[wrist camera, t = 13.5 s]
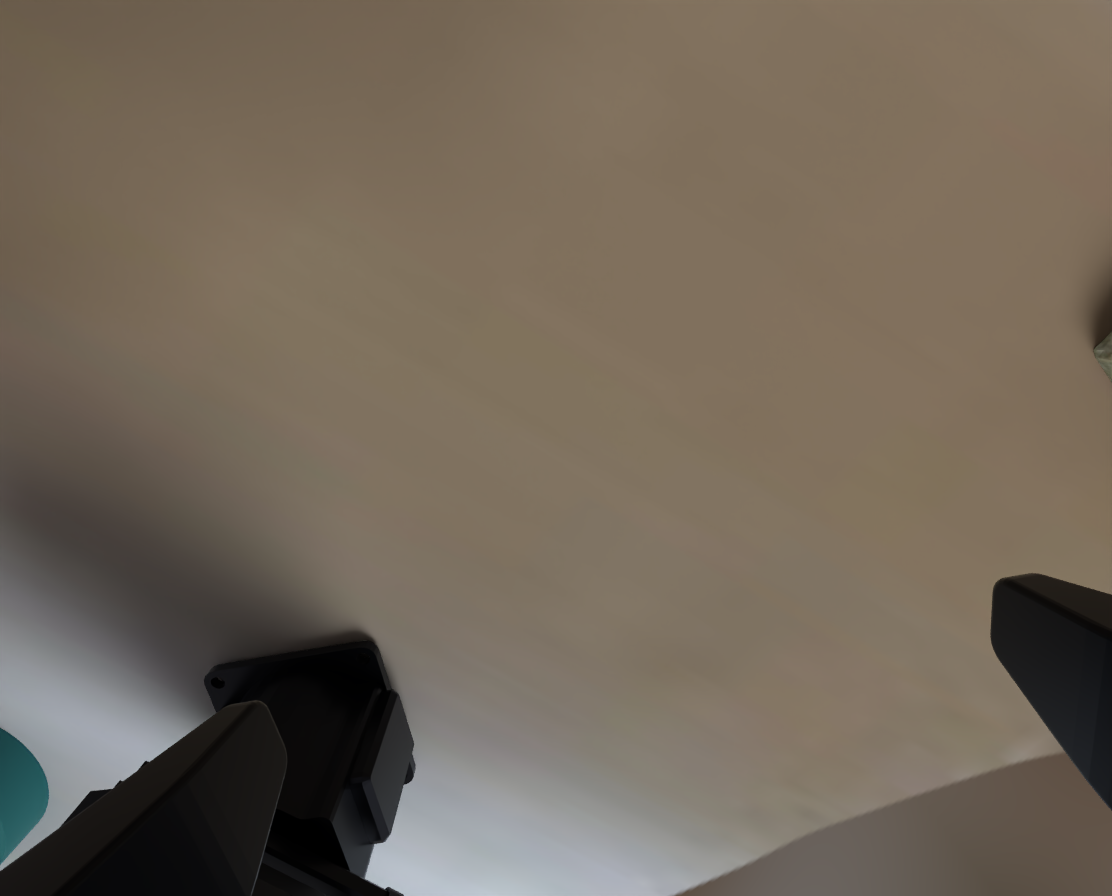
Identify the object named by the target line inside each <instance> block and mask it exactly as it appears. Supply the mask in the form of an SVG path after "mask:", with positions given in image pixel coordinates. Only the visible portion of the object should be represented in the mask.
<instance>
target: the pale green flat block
mask: <svg viewBox="0 0 1112 896" xmlns="http://www.w3.org/2000/svg"><path fill="white" fill-rule="evenodd" d="M1094 354H1095V358H1096V359H1097V361H1098V362H1099V364H1100V365H1101V367H1102V368H1103V370H1104V371H1105V373H1106V374H1107V376H1108V377H1109V379H1110V380H1111V382H1112V332H1111V333H1110V334H1109V335H1108V336H1107V337H1106V338H1105V339H1104V340H1103V341H1102V342H1101V343H1100V344H1099V345H1098V346H1097V347H1096V348H1095V349H1094Z"/></svg>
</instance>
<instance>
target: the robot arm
mask: <svg viewBox="0 0 1112 896" xmlns="http://www.w3.org/2000/svg"><path fill="white" fill-rule="evenodd" d="M990 635H991V643H992V646H993V649H994V652H995V654H996V656H997V657H998V659H999V661H1000V662H1001V663H1002V665H1003V666H1004V668H1005V669H1006V670H1007V672H1008V673H1009V674H1010V676H1011V677H1012V679H1013V680H1014V681H1015V683H1016V684H1017V686H1018V687H1019V688H1020V690H1021V691H1022V693H1023V694H1024V695H1025V697H1026V698H1027V699H1028V701H1029V702H1030V704H1031V705H1032V706H1033V708H1034V709H1035V711H1036V712H1037V713H1038V715H1039V716H1040V718H1041V719H1042V720H1043V722H1044V723H1045V724H1046V726H1047V727H1048V729H1049V730H1050V731H1051V733H1052V734H1053V736H1054V737H1055V738H1056V740H1057V741H1058V743H1059V744H1060V745H1061V747H1062V748H1063V750H1064V751H1065V752H1066V754H1067V755H1068V756H1069V758H1070V759H1071V761H1072V762H1073V763H1074V764H1075V766H1076V767H1077V768H1078V770H1079V771H1080V772H1081V774H1082V775H1083V776H1084V778H1085V779H1086V780H1087V782H1088V783H1089V784H1090V785H1091V786H1092V788H1093V789H1094V790H1095V791H1096V792H1097V794H1098V795H1099V796H1100V797H1101V798H1102V800H1103V801H1104V802H1105V803H1106V805H1107V806H1108V807H1109V808H1110V809H1111V810H1112V595H1111V594H1107V593H1104V592H1100V591H1097V590H1094V589H1090V588H1087V587H1083V586H1080V585H1076V584H1073V583H1069V582H1066V581H1063V580H1059V579H1056V578H1052V577H1049V576H1045V575H1042V574H1036V573H1030V574H1024V575H1018V576H1012V577H1005V578H1002V579H1000V580H998V581H997V582H996V583H995V585H994V587H993V596H992V615H991V634H990ZM360 653H365V654H367V655H368V656H369V658H364V657H362V656H361V655H360ZM217 677H220V678H222V679H223V680H224V681H221V680H219V679H218V678H217ZM204 683H205V687H206V689H207V691H208V694H209V696H210V698H211V701H212V703H213V705H214V708H215V710H216V712H217V713H216V714H215V715H213V716H212V717H211V718H209V719H208V720H206V721H205V722H204V723H202V724H201V725H200V726H198V727H197V728H196V729H194V730H193V731H191V732H190V733H189V734H187V735H186V736H185V737H183V738H182V739H180V740H179V741H178V742H176V743H175V744H174V745H172V746H171V747H170V748H168V749H167V750H165V751H164V752H163V753H161V754H160V755H159V756H157V757H156V758H154V759H153V760H152V761H150V762H148V761H145V762H144V763H143V765H142V766H141V767H140V768H139V770H138V771H137V772H135V773H134V774H133V775H131V776H130V777H128V778H127V779H126V780H124V781H121V780H120V781H119V782H118V783H117V785H116V786H115V787H114V788H113V789H107V790H98V791H90V792H89V794H88V795H87V796H86V797H85V798H84V800H83V801H82V802H81V803H80V804H79V805H78V807H77V808H76V809H75V810H74V811H73V813H72V814H71V815H70V816H69V817H68V818H67V820H66V821H65V822H64V823H63V824H62V825H61V827H60V828H59V829H57V830H56V831H55V832H53V833H52V834H50V835H49V836H48V837H46V838H45V839H44V840H42V841H41V842H40V843H38V844H37V845H35V846H34V847H33V848H31V849H30V850H29V851H27V852H26V853H25V854H23V855H22V856H20V857H19V858H18V859H16V860H15V861H14V862H12V863H11V864H9V865H8V866H7V867H5V868H4V869H3V870H1V871H0V896H404V895H403V894H401V893H399V892H397V891H395V890H393V889H392V888H390V887H387V888H386V889H383V888H381V887H380V886H378V885H376V884H374V883H372V882H370V881H368V880H366V879H365V875H366V872H367V868H368V865H369V861H370V858H371V854H372V851H373V847H374V844H377V843H383V842H385V841H386V840H387V838H388V837H389V835H390V834H391V831H392V827H393V823H394V819H395V815H396V812H397V808H398V804H399V800H400V796H401V793H402V789H403V785H404V784H407V783H409V782H410V781H412V779H413V777H414V773H415V769H416V768H415V762H414V759H413V756H412V751H413V747H414V741H413V738H412V735H411V732H410V729H409V725H408V722H407V719H406V716H405V712H404V709H403V706H402V703H401V700H400V696H399V694H398V693H397V692H396V691H395V690H393V689H391V686H390V683H389V679H388V676H387V673H386V670H385V667H384V664H383V660H382V657H381V654H380V651H379V649H378V647H377V645H375V644H374V643H373V642H370V641H358V642H352V643H346V644H340V645H334V646H328V647H322V648H316V649H310V650H304V651H298V652H292V653H286V654H280V655H274V656H268V657H262V658H256V659H250V660H244V661H238V662H232V663H226V664H220V665H217V666H214V667H213V668H212V669H211V670H210V671H209V673H208V674H207V675H206V676H205V679H204Z"/></svg>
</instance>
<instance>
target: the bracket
mask: <svg viewBox="0 0 1112 896" xmlns="http://www.w3.org/2000/svg"><path fill="white" fill-rule="evenodd" d="M48 799H49V789H48V783H47V779H46V776H45V774H44V771H43V769H42V768H41V766H40V764H39V762H38V761H37V760H36V758H35V757H34V755H33V754H32V753H31V752H30V751H29V750H28V749H27V748H26V747H25V746H24V745H23V744H22V743H21V742H20V741H19V740H17V739H16V738H15V737H14V736H12V735H11V734H9V733H8V732H6V731H5V730H3V729H1V728H0V865H1V863H2V862H3V861H4V860H5V859H6V858H7V857H8V856H9V854H10V853H11V852H12V851H13V850H14V849H15V848H16V847H17V845H18V844H19V843H20V842H21V841H22V840H23V839H24V838H25V836H26V835H27V834H28V833H29V832H30V831H31V830H32V829H33V828H34V826H35V825H36V824H37V823H38V822H39V821H40V819H41V818H42V816H43V815H44V813H45V811H46V808H47V805H48Z"/></svg>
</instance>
